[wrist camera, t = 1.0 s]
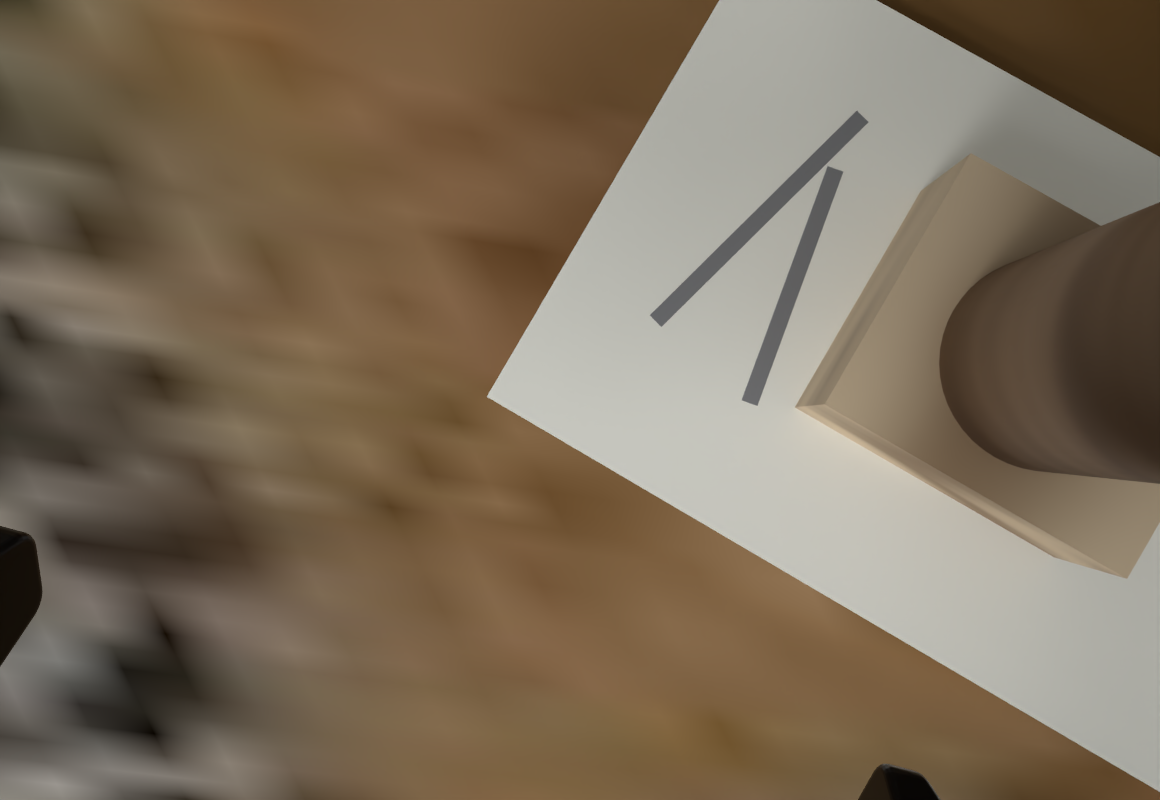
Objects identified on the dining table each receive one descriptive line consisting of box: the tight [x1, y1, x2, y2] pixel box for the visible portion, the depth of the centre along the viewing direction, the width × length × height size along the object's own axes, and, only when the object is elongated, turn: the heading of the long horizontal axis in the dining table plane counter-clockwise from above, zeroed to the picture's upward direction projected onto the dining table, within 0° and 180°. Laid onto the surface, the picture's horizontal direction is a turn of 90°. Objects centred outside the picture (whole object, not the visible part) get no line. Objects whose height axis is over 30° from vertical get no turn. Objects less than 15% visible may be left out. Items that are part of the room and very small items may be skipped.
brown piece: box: [795, 153, 1160, 579], centre depth 15 cm, size 7×6×13 cm
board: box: [487, 0, 1160, 792], centre depth 22 cm, size 20×13×1 cm, turn 60°
